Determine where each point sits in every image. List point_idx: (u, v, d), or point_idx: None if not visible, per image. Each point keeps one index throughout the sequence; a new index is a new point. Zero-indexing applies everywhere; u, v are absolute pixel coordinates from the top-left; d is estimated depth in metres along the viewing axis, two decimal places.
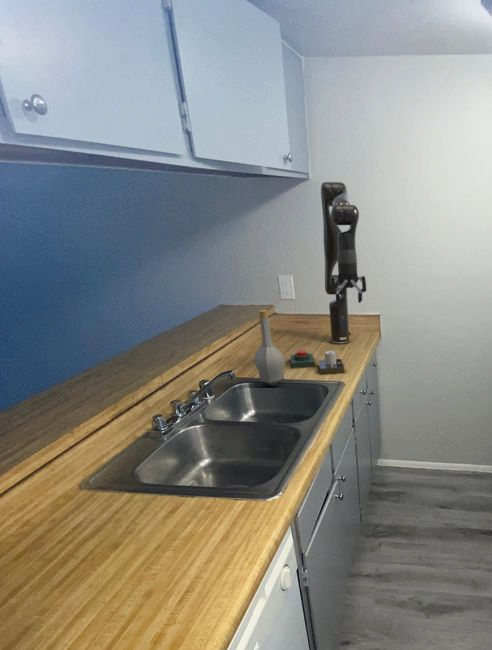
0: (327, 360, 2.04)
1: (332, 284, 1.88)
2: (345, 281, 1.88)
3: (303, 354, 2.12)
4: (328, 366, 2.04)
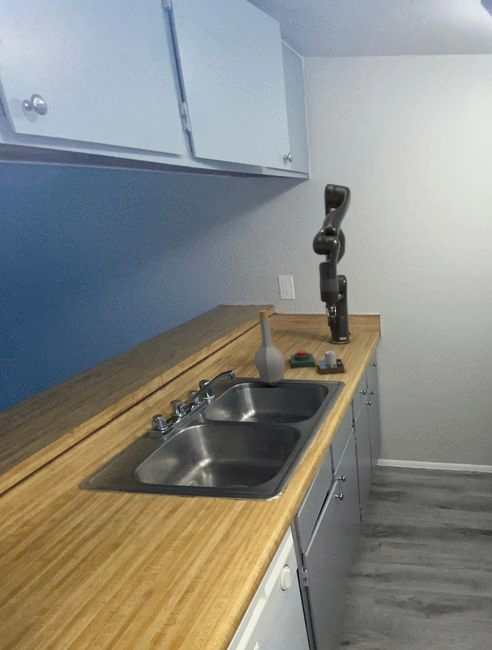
0: (327, 360, 2.04)
1: None
2: (325, 306, 1.96)
3: (303, 354, 2.12)
4: (328, 366, 2.04)
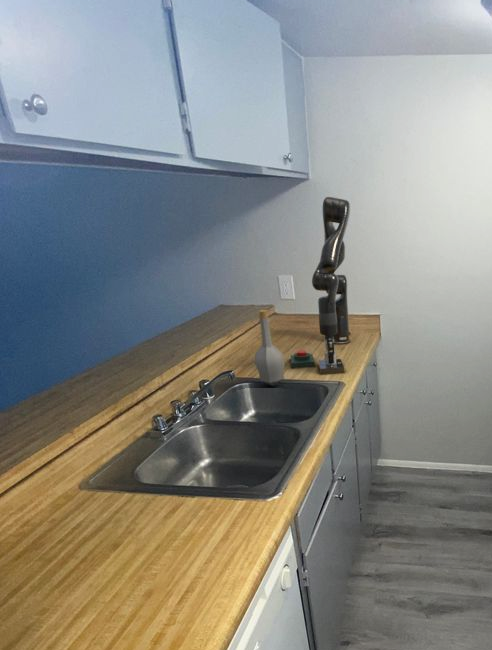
0: (327, 360, 2.04)
1: None
2: (324, 339, 2.03)
3: (303, 354, 2.12)
4: (328, 366, 2.04)
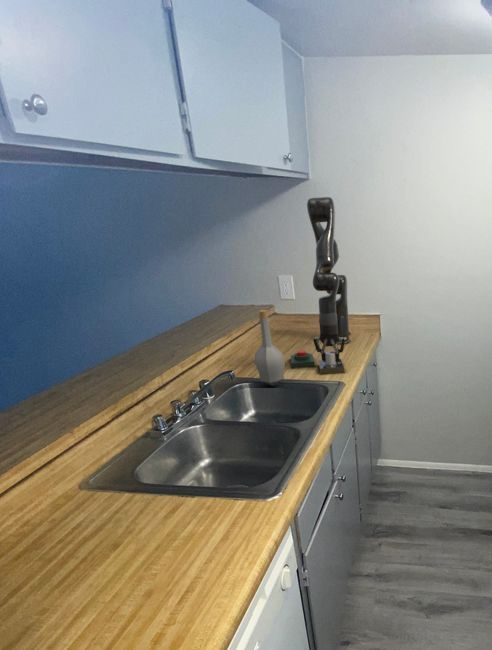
0: (334, 360, 2.05)
1: (315, 344, 2.02)
2: (325, 340, 2.00)
3: (303, 354, 2.12)
4: (328, 366, 2.04)
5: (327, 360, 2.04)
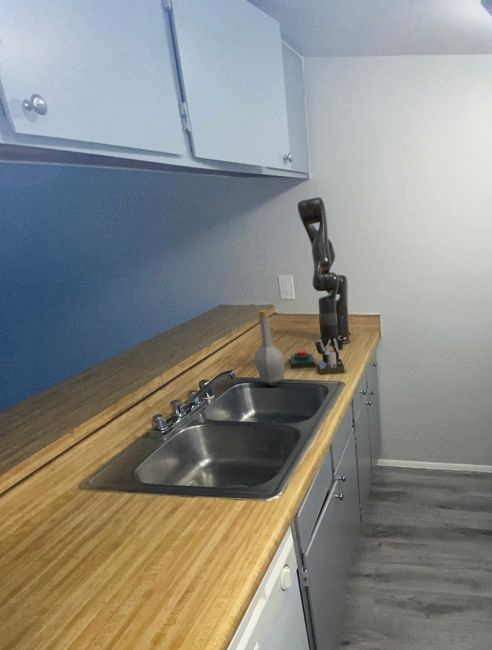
0: None
1: (320, 347, 1.99)
2: (329, 341, 2.00)
3: (303, 354, 2.12)
4: (328, 366, 2.04)
5: (331, 360, 2.04)
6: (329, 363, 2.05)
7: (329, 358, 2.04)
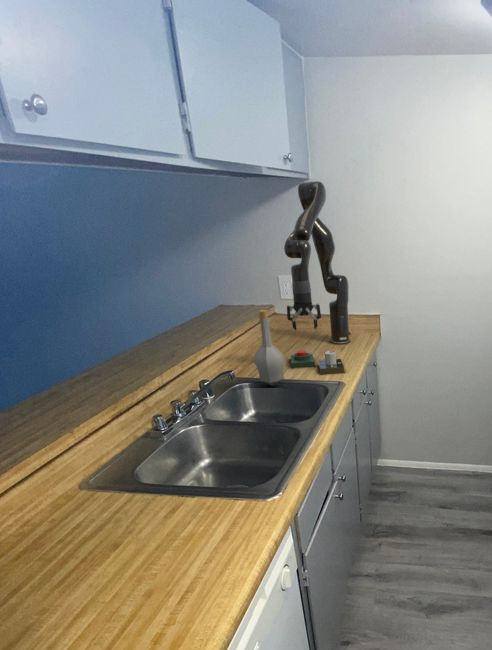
0: None
1: (288, 312, 2.00)
2: (300, 309, 2.00)
3: (303, 354, 2.12)
4: (328, 366, 2.04)
5: (331, 360, 2.04)
6: (329, 363, 2.05)
7: (329, 358, 2.04)
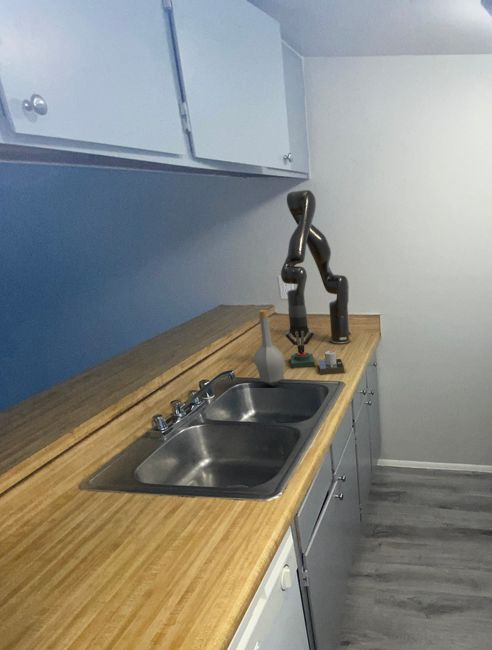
0: None
1: (289, 339, 2.08)
2: (296, 332, 2.07)
3: None
4: (328, 366, 2.04)
5: (331, 360, 2.04)
6: (329, 363, 2.05)
7: (329, 358, 2.04)
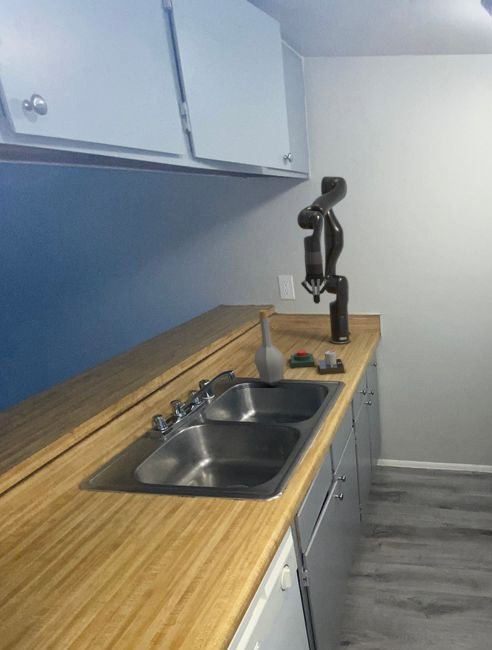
0: None
1: (305, 287, 2.06)
2: (312, 281, 2.05)
3: (303, 354, 2.12)
4: (328, 366, 2.04)
5: (331, 360, 2.04)
6: (329, 363, 2.05)
7: (329, 358, 2.04)
